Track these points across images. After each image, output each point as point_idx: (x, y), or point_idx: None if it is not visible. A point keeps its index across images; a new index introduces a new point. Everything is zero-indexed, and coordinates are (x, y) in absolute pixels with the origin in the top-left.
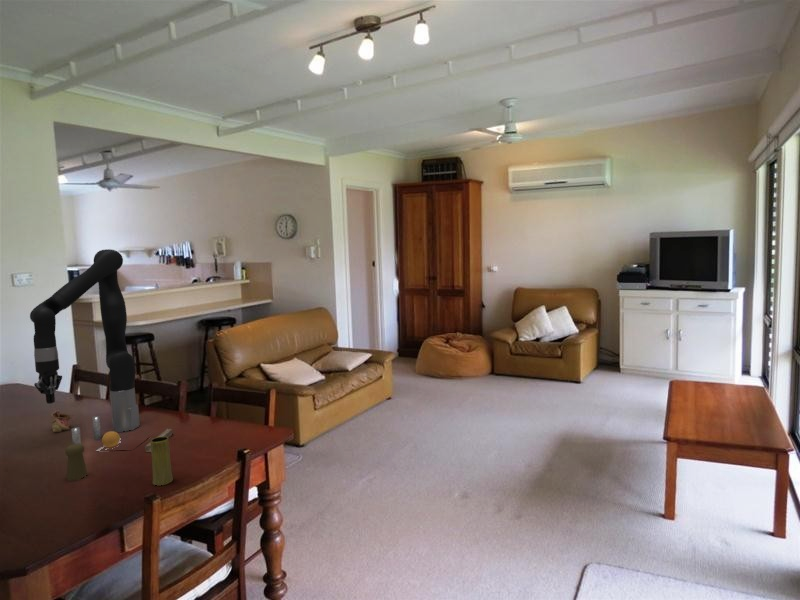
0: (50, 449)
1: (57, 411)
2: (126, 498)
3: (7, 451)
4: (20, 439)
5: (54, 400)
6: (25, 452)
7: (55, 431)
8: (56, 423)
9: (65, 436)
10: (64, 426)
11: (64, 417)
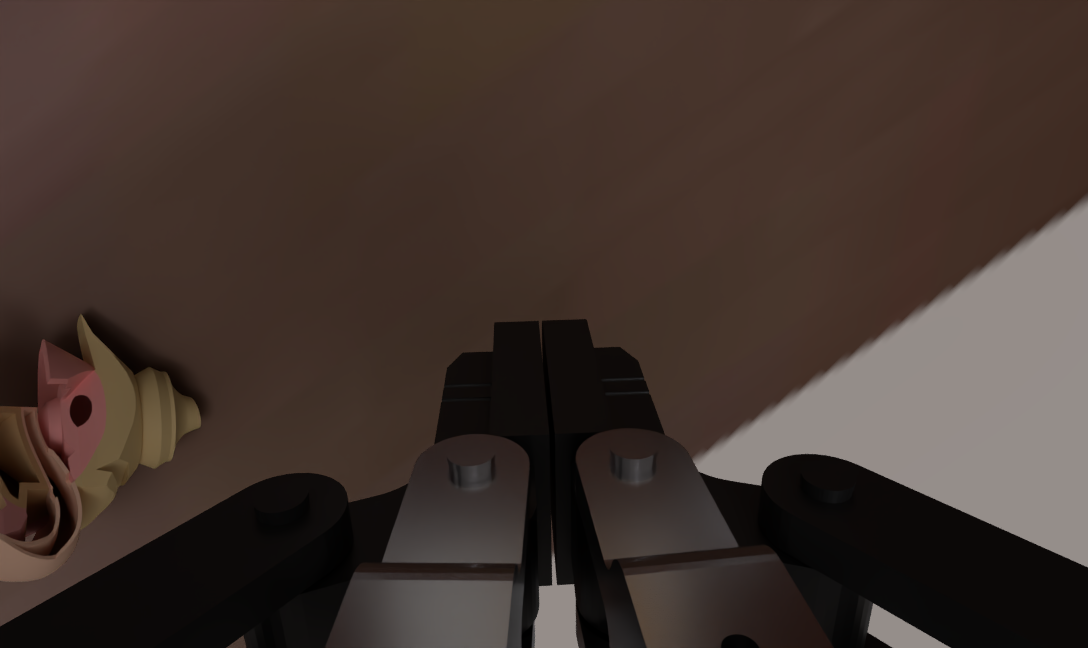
0: (625, 141)
1: (5, 534)
2: None
3: None
4: None
5: (503, 332)
6: (680, 330)
7: (193, 400)
8: (136, 438)
9: (263, 237)
10: (109, 360)
11: (2, 436)
